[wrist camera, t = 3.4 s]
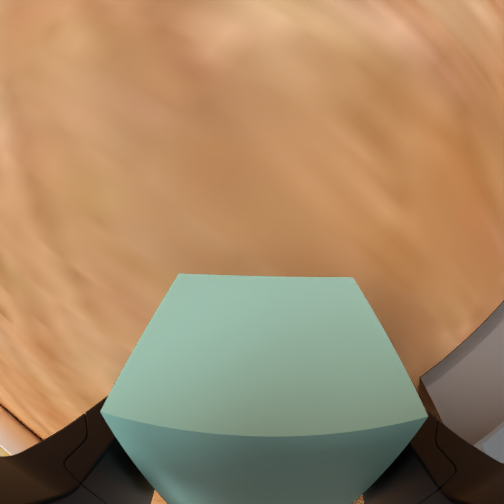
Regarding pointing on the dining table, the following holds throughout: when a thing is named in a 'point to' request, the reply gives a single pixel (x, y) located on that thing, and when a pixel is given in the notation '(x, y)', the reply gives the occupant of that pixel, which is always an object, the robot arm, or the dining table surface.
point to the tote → (474, 387)
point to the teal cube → (263, 393)
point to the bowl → (14, 435)
